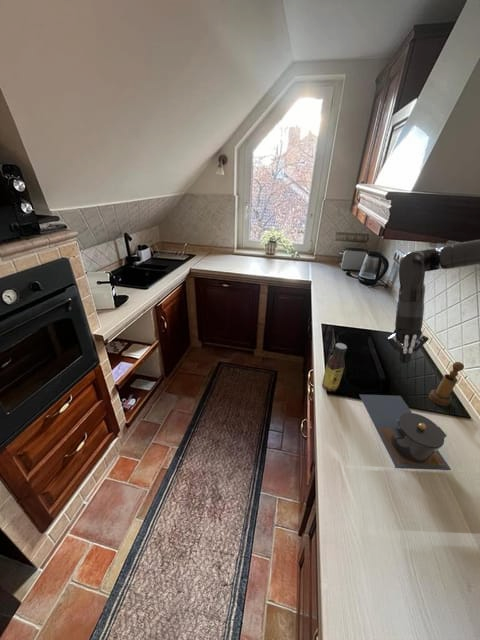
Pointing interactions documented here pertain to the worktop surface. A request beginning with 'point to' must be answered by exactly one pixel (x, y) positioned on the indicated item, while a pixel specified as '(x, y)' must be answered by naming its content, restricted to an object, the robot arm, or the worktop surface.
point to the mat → (385, 418)
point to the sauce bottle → (334, 368)
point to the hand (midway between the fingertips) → (404, 362)
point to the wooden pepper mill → (446, 386)
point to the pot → (417, 437)
